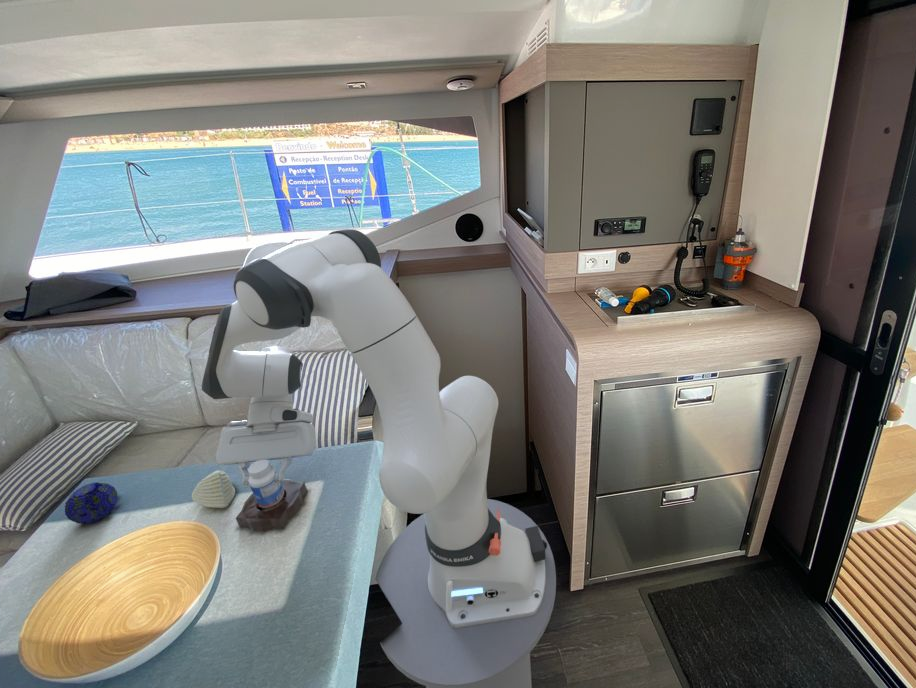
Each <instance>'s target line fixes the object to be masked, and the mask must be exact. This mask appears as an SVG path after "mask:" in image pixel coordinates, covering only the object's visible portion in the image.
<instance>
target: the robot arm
mask: <svg viewBox="0 0 916 688" xmlns="http://www.w3.org/2000/svg"><path fill="white" fill-rule="evenodd" d="M233 292H234V295H235V298H236V301H234V302H233V303H230V304H227V305H226V306H223V307H222V309H221V310H220V312H219V314H218V317H217V319H216V324H215V326H214V329H213V332H212V337H211V340H210V345H209V349H208V356H207V358H206V360H204V363H203V365H202V366H201V370H200V376H199V383H200V388H201V391H202V392H204V393H205V394H206V395H207V396H208V397H210V398H212V399H213V400H223V399H225V400H226V399H232V398H251V399H250V401H249V405H248V413H247V419H244V420H239V421H230V422H228V424H226V425H224V426H223V427H222V429H221V432H220V439H219V443H218V446H217V449H216V454H215V462H216V464H217V465H218V466H229V465H230V466H231V465H237V470H238V472H239V474H240V476H241V485H242V486H248V485H249V482H248V479H249V477H250V475H249V472H248V468H249V467H250V465H251V463H254V462H256V461H258V460H265V459H266V460H268V461H273V460H275V461H276V460H280V464H282V465H281V467H280V468H279V471H277V473H275V475H274V476H275V478H274V481H284V479H286V472H287V471H288V470H289V468H290V466H291V465H292V463H293V462H292V460H293V459H294V458H300V457H310V456H313V454H314V453H315V451H316V449H317V448H316V447H317V436H316V428H315V426H314V424H312V423H313V421H314V414H312V413H310V412H308V411H303V410H300V409H297V408H293V406H294V401H293V394H294V393H295V392H297V391H298V390H299V389H300V388H301V387H302V384H301V380H302V379H301V378H302V371H303V367H304V363H303V362H302V360H301V359H300V358H299V357H298V356H296V355H295V353H294V351H293V350H292V349H291V348H289V347H285V346H282V345H271V346H266V347H264V348H262V349H261V350H260V351H239V350H235V348H236V347H238V346H240V345H244V344H249V343H250V344H251V343H258V342H266V341H275V340H276V341H277V340H281V339H284V338H286V337H290V336H291V335H293V334H294V333H296V332H297V331H299V330H300V328H309V327H310V326H311V323H312V317H320V318H323V319H325V320H327V321H328V322H330V323H331V325H333V327H334V328H335V330H336V332H337V333H338V336H339V338H340V340H341V341H342V343H343V344H344V346H345V348H346V350H347V352H348V353H349V354H350V356H351V358H352V360H353V361H354V362H355V364H356V366H357V367H358V370H359V371H360V372H361V374H362V376H363V378H364V380H365V381H366V383H367V385H368V386H369V389H370V390H371V392H372V394H373V397H374V399H375V401H376V405H377V407H378V411H379V415H380V420H381V421H380V422H381V428H382V438H383V439H382V444H383V445H382V446H383V447H382V455H381V456H382V457H381V462H380V467H379V470H378V478H379V484H380V489H381V490H382V492H383V494H384V496H385V498H386V500H388V502H389V503H391V504H392V505H393V506H394V507H395V508H397V510H400V511H402V512H405V513H409V514H414V515H416V514H417V515H423V514H424V517H425V522H426V525H425V539H426V544H427V548H428V551H429V553H430V569H429V573H428V588H429V592H430V594H431V597H432V598H433V600H434V601H435V603H436V604H437V605H438V606H440V607H441V608H442V609H443V610H444V612H445V613H446V616H447V619H448V621H449V623H450V625H451V626H452V627H454V628H459V627H466V626H472V625H478V624H484V623H490V622H497V621H503V620H509V619H515V618H522V617H528V616H532V615H535V614H536V612H537V611H538V609H539V608H540V606H541V603H542V600H543V597H544V592H545V584H546V568H545V561H544V560H545V550H546V548H547V543H546V542H545V541H544V540H542V538H541V535H540V532H539V529H540V528H539V529H538V527H539V525H537V526H534V527H530V528H526V529H525V533H524V531H522V530H521V529H518V528H516V527H513V526H511V525H509V524H507V521H506V520H505V519H503V518H500V512H499V509H498V512H497V519H496V518H495V517H494V516H493V514H492V513H491V511H490V510H489V509H488V505H487V499H488V492H487V479H488V471H489V465H490V458H491V449H492V438H493V431H494V426H495V421H496V417H497V413H498V409H499V398H498V395H497V393H496V391H495V390H494V388H493V386H491V384H489V383H488V382H487V381H486V380H484V379H482V378H480V377H478V376H475V375H464V376H463V375H462V376H460V377H458V378H457V379H454V381H452V382H450V383H449V384H447V385H446V386H445V387H443V388H442V389H440V384H439V381H440V380H439V379H440V374H441V365H442V362H441V356H440V354H439V352H438V350H437V348H436V347H435V344H434V343H433V342H432V340H431V337H430V336H429V334H428V333H427V331H426V329H425V327H424V326H423V323H422V322H421V320H420V319H419V316H417V314H416V312H415V310H414V309H413V307H412V305H411V304H410V302H409V301H408V299H407V297H406V296H405V295H404V294H403V292H402V291H401V290H400V288H399V287H398V285H396V283H395V282H394V280H393V279H392V278H391V277H390V276H389V275H388V274H387V273H386V271H385V270H384V269H383V268H382V261H381V256H380V253H379V251H378V248H377V246H376V245H375V243H374V242H373V241H372V240H371V239H370V238H369V236H367V235H366V234H364V233H363V232H362V231H359V230H357V229H340V230H339V229H338V230H334V231H331V232H329V233H328V234H325V235H321V236H316V237H312V238H310V239H307V240H303V241H297V242H294V243H289V242H287V241H281V240H270V241H269V240H268V241H265V242H262V243H259V244H257V245H256V246H254V247H253V248H251V249H250V251H249V252H248V253H247V255H246V257H245V260H244V262H243V266H242V267H241V268H240V269H238V271H236V273H235V275H234V279H233ZM535 596H539V597H538V598H535ZM507 611H509V612H507ZM462 616H465V618H464V619H461V617H462Z"/></svg>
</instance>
